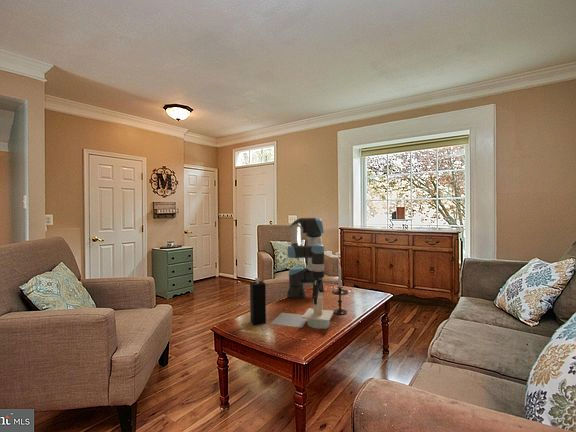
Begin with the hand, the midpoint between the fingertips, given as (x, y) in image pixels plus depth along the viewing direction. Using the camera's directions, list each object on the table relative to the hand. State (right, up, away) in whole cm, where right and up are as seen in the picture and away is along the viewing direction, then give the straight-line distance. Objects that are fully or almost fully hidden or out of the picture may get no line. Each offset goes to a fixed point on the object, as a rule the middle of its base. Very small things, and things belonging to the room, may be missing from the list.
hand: (318, 306), depth 177 cm
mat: (-16, -11, +8) cm, 21 cm away
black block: (-37, -12, +4) cm, 39 cm away
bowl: (0, -11, 0) cm, 11 cm away
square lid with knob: (0, -5, 0) cm, 5 cm away
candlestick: (+17, -11, +21) cm, 29 cm away
